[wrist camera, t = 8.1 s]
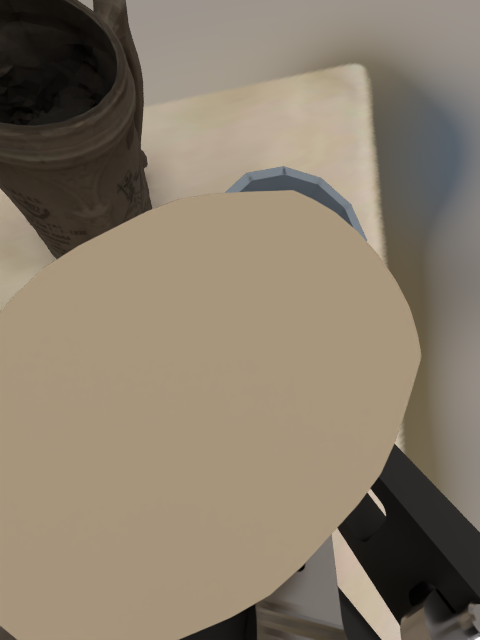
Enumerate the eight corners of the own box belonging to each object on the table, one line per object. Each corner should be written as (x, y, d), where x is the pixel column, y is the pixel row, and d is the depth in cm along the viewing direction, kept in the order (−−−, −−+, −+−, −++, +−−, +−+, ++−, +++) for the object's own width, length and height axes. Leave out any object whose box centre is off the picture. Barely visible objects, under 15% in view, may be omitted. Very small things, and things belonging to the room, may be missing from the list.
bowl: (194, 308, 33) (197, 295, 28) (222, 180, 38) (229, 149, 33) (335, 340, 36) (360, 332, 31) (347, 216, 40) (370, 193, 35)
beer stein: (142, 306, 32) (103, 159, 13) (35, 280, 31) (-177, 72, 12) (178, 192, 37) (186, -31, 18) (88, 164, 36) (-3, -110, 17)
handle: (112, 387, 17) (-172, 371, 3) (203, 325, 19) (288, 139, 5) (160, 457, 17) (93, 795, 3) (248, 387, 19) (473, 376, 5)
